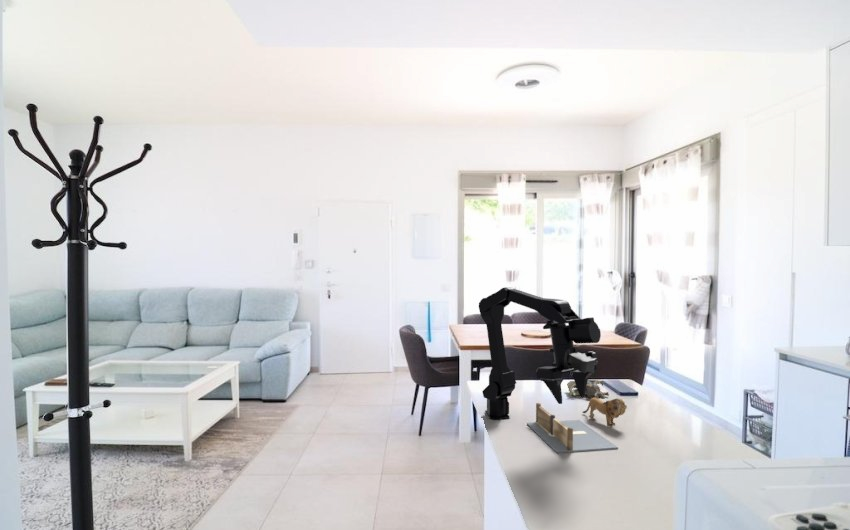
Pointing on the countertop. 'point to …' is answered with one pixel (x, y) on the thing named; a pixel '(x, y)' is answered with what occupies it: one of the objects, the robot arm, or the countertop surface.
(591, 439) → the card
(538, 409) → the fixed plank
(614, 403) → the lion figurine
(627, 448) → the countertop surface
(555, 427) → the hinged plank
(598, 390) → the figurine
